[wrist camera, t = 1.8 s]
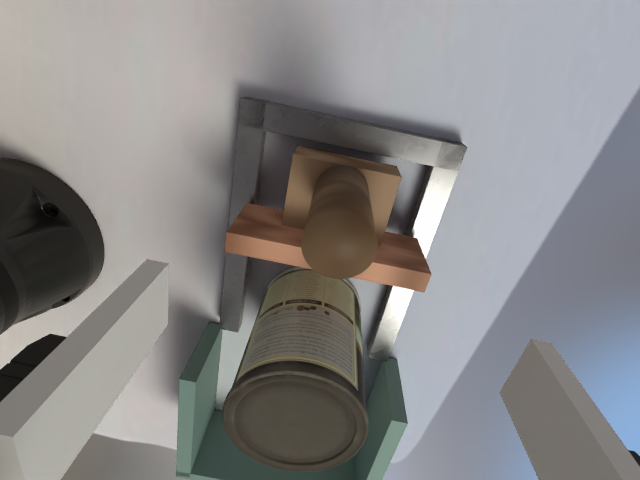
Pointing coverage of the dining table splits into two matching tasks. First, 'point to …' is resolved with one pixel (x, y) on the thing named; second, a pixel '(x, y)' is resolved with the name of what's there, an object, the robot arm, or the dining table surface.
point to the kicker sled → (334, 223)
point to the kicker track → (347, 134)
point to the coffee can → (301, 376)
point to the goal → (249, 475)
